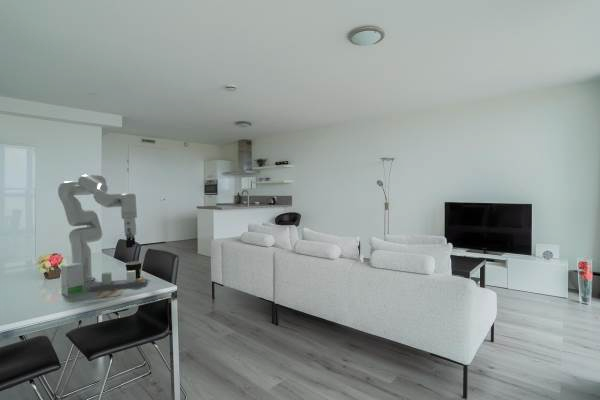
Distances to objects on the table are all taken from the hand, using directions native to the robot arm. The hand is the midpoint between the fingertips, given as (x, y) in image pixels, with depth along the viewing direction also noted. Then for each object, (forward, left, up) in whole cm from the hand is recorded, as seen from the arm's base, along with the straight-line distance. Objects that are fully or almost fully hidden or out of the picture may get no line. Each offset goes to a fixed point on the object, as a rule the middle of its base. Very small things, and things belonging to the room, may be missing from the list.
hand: (130, 246), depth 178 cm
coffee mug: (0, +16, -23) cm, 28 cm away
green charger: (-12, 0, -22) cm, 25 cm away
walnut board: (-8, -12, -23) cm, 27 cm away
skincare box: (-27, -3, -23) cm, 36 cm away
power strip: (-6, 0, -23) cm, 24 cm away
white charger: (0, 0, -22) cm, 22 cm away
